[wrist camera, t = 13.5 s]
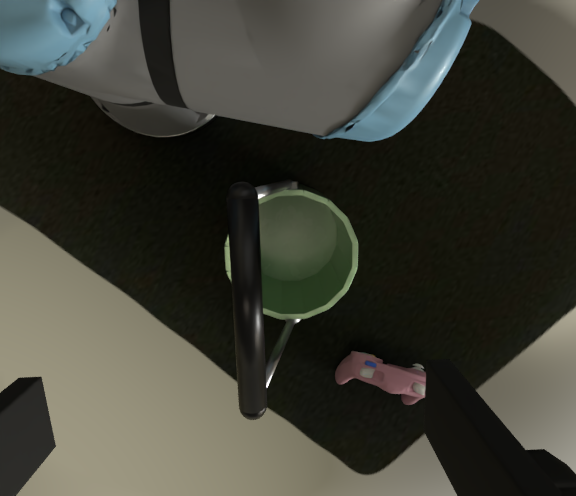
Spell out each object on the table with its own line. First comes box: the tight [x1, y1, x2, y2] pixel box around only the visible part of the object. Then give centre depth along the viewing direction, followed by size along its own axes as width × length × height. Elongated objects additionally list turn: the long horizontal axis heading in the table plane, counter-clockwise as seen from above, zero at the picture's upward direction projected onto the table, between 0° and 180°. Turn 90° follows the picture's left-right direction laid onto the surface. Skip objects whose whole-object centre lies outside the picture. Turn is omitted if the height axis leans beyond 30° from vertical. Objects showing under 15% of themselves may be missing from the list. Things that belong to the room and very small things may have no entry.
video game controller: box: [335, 351, 426, 405], centre depth 42 cm, size 10×5×7 cm, turn 71°
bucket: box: [224, 180, 358, 420], centre depth 30 cm, size 11×13×22 cm
